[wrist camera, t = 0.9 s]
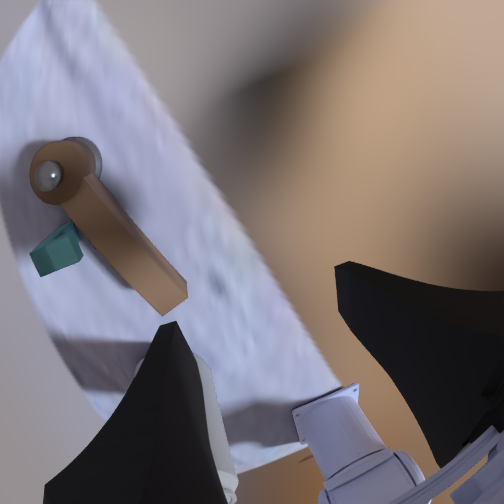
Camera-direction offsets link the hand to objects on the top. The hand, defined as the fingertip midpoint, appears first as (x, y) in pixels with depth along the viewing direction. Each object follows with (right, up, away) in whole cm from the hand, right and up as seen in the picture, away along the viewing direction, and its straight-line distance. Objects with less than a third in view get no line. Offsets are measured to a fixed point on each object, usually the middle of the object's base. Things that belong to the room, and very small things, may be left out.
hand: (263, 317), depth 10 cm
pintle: (-11, +7, +4) cm, 14 cm away
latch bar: (-8, +4, +6) cm, 11 cm away
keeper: (-11, +4, +6) cm, 13 cm away
